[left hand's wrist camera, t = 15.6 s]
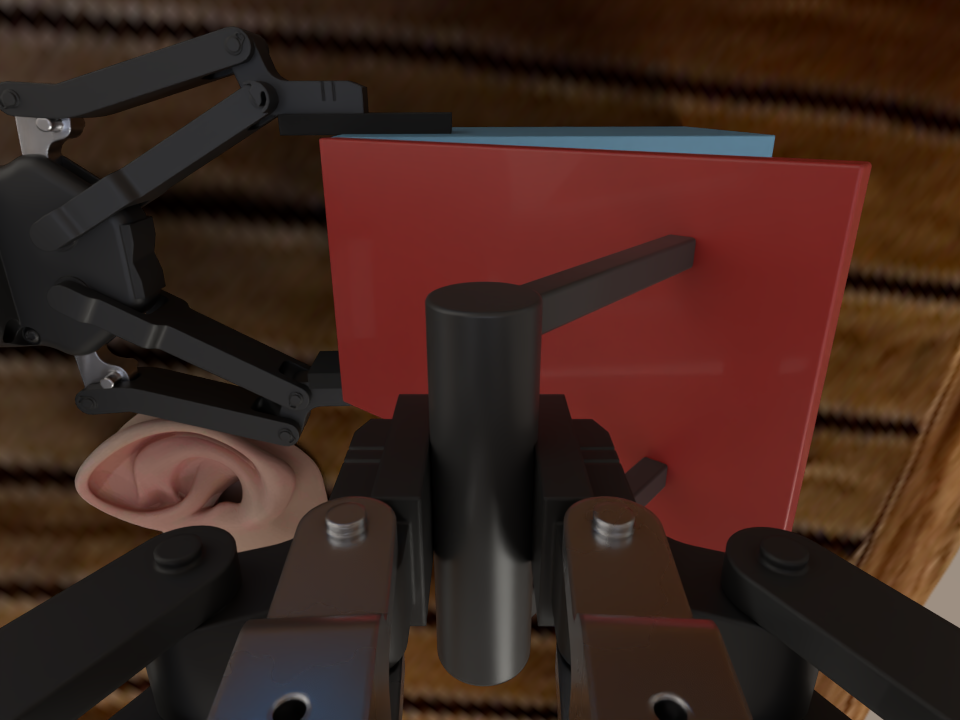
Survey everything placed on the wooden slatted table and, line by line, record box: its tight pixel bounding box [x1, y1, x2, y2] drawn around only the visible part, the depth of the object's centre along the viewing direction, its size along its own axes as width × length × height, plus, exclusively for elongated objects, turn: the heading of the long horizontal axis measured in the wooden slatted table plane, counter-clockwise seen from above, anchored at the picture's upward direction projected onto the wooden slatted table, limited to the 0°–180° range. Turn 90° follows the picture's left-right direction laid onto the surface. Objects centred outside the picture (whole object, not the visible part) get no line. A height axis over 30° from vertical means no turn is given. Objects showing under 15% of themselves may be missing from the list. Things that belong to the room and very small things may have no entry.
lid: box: [319, 137, 871, 686], centre depth 16 cm, size 16×10×9 cm
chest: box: [333, 127, 775, 157], centre depth 29 cm, size 16×10×10 cm, turn 90°
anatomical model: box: [75, 413, 328, 552], centre depth 37 cm, size 13×4×12 cm
